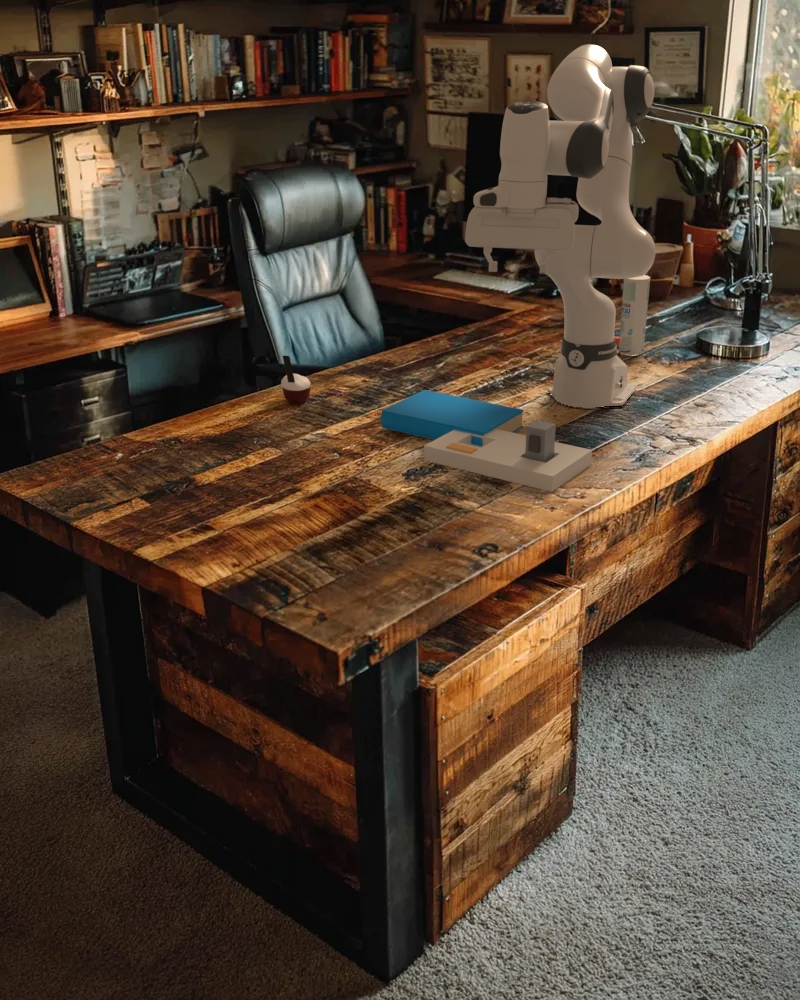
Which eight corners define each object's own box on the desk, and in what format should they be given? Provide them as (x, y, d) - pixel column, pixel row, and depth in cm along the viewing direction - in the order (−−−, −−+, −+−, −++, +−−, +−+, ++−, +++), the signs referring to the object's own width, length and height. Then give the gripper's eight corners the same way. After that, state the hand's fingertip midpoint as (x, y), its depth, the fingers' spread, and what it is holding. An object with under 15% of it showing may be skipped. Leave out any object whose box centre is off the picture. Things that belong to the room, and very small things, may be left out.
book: (423, 389, 241) (524, 407, 228) (424, 408, 242) (523, 427, 229) (379, 410, 228) (483, 431, 215) (380, 430, 229) (483, 451, 216)
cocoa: (300, 396, 254) (298, 345, 250) (320, 400, 250) (318, 349, 246) (270, 404, 247) (268, 352, 243) (290, 409, 243) (288, 356, 239)
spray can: (648, 355, 281) (654, 278, 273) (625, 357, 279) (631, 280, 271) (636, 349, 287) (642, 273, 279) (614, 351, 285) (619, 275, 277)
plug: (534, 464, 209) (536, 420, 206) (553, 468, 207) (555, 424, 204) (522, 472, 206) (524, 427, 202) (541, 476, 204) (543, 431, 200)
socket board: (467, 441, 224) (467, 421, 223) (590, 469, 210) (592, 448, 208) (424, 464, 212) (423, 444, 211) (551, 496, 198) (552, 474, 196)
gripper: (579, 196, 200) (574, 272, 205) (469, 192, 203) (466, 267, 208) (579, 200, 194) (573, 278, 199) (465, 196, 197) (462, 273, 202)
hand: (518, 272), depth 204 cm, fingers open, 8 cm apart
